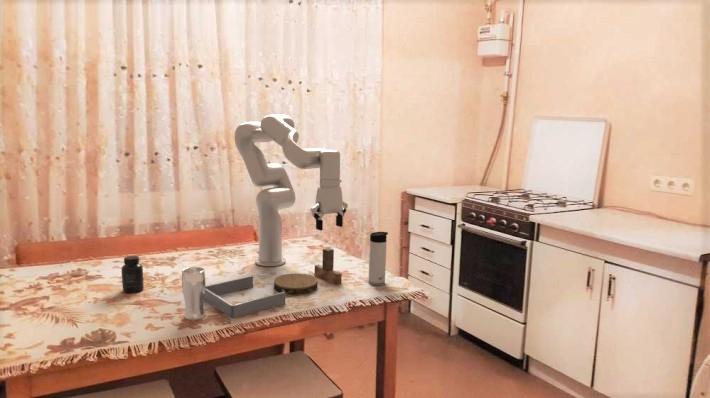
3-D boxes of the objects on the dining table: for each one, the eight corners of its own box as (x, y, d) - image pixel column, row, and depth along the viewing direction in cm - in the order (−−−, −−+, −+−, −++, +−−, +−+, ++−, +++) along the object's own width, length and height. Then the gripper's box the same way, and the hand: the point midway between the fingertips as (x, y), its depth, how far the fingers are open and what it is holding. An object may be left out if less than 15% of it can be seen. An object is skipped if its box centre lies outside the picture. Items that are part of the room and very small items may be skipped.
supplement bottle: (148, 288, 183) (146, 256, 181) (134, 294, 176) (132, 261, 174) (132, 285, 185) (130, 253, 183) (118, 292, 179) (116, 258, 176)
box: (201, 298, 175) (200, 286, 175) (251, 285, 188) (251, 275, 188) (232, 318, 160) (232, 306, 159) (285, 303, 173) (285, 292, 172)
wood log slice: (325, 290, 187) (325, 282, 186) (286, 299, 178) (286, 290, 177) (303, 278, 199) (304, 270, 199) (266, 285, 190) (266, 277, 190)
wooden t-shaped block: (313, 275, 202) (314, 245, 200) (319, 273, 204) (320, 244, 202) (336, 285, 192) (337, 254, 190) (342, 283, 194) (343, 252, 192)
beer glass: (185, 311, 164) (184, 266, 161) (208, 311, 164) (207, 266, 162) (180, 320, 157) (178, 273, 154) (203, 320, 157) (202, 273, 155)
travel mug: (384, 286, 192) (386, 234, 188) (367, 285, 193) (368, 233, 189) (386, 281, 198) (388, 230, 194) (369, 279, 199) (371, 229, 195)
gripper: (341, 180, 200) (340, 223, 203) (305, 184, 189) (305, 229, 192) (353, 182, 195) (353, 226, 197) (317, 186, 183) (317, 233, 186)
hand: (329, 228), depth 194 cm, fingers open, 9 cm apart
